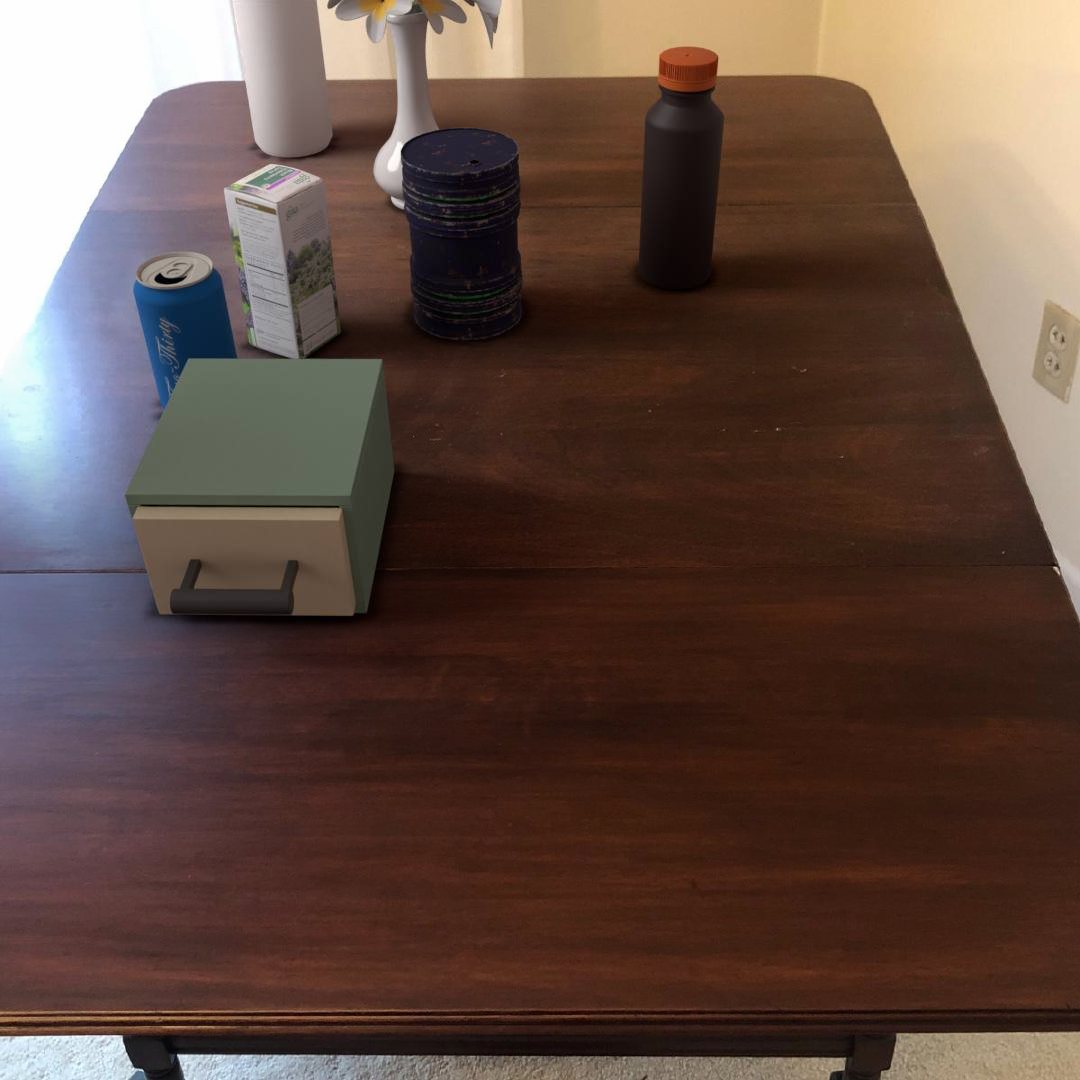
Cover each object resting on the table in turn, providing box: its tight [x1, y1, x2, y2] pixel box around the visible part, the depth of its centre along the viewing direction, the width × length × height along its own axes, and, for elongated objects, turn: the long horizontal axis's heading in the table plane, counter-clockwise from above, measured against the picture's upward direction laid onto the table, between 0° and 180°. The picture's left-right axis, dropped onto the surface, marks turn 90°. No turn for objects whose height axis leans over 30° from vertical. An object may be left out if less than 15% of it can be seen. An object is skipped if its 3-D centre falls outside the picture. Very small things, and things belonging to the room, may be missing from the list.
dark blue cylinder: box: [401, 127, 524, 341], centre depth 104 cm, size 10×10×15 cm
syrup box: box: [223, 163, 342, 359], centre depth 101 cm, size 6×6×14 cm
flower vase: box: [326, 0, 502, 211], centre depth 120 cm, size 13×18×25 cm
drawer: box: [132, 505, 356, 617], centre depth 79 cm, size 19×12×8 cm, turn 179°
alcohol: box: [231, 0, 334, 158], centre depth 130 cm, size 9×9×30 cm
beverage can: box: [132, 251, 238, 411], centre depth 94 cm, size 6×6×12 cm
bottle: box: [637, 45, 725, 291], centre depth 108 cm, size 7×7×20 cm
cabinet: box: [124, 358, 395, 614], centre depth 82 cm, size 16×14×10 cm
